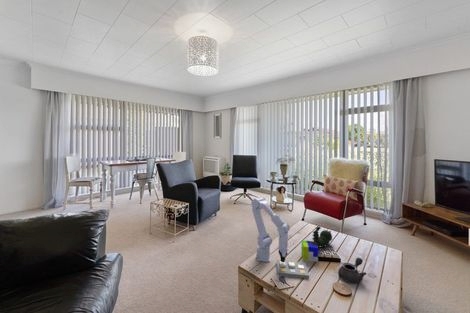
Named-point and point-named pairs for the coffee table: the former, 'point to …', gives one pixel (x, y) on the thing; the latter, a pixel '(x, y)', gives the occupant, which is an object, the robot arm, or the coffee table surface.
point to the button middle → (291, 265)
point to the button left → (282, 264)
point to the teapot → (351, 272)
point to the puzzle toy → (309, 250)
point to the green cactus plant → (322, 237)
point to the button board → (292, 270)
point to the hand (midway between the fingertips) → (282, 261)
